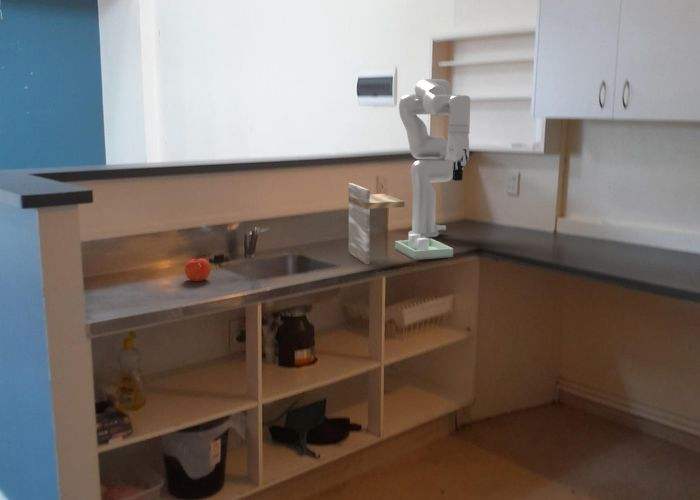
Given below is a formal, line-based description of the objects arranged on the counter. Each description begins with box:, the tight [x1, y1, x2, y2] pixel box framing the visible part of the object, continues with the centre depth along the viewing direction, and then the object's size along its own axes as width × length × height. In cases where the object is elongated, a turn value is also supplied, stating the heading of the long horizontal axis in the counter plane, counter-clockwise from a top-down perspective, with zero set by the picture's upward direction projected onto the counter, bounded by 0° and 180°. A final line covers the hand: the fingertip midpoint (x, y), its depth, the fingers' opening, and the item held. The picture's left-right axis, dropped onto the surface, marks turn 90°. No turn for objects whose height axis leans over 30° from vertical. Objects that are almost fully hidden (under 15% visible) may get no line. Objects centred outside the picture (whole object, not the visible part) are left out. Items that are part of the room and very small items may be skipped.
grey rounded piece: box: [408, 233, 420, 250], centre depth 267 cm, size 4×4×6 cm
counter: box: [348, 182, 405, 265], centre depth 256 cm, size 14×20×26 cm
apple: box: [184, 255, 212, 282], centre depth 226 cm, size 8×8×8 cm
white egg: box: [417, 238, 430, 251], centre depth 259 cm, size 4×4×6 cm
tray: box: [394, 238, 454, 261], centre depth 264 cm, size 15×19×3 cm
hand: (457, 180), depth 263 cm, fingers closed
